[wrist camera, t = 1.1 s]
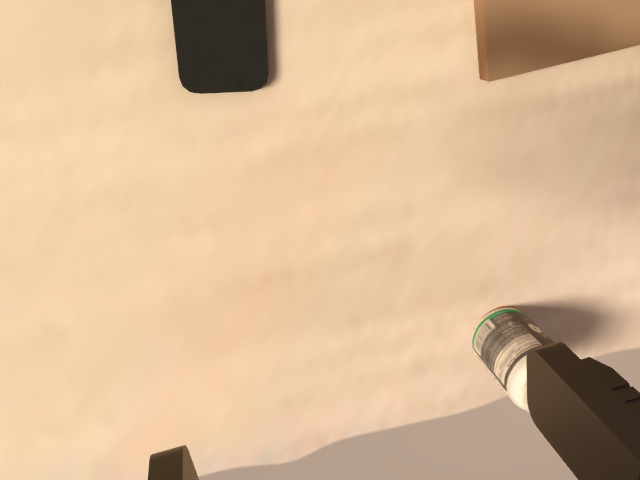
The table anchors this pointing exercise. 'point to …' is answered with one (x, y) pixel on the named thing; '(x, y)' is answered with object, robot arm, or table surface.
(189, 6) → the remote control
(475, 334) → the pill bottle
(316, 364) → the table surface
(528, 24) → the board
